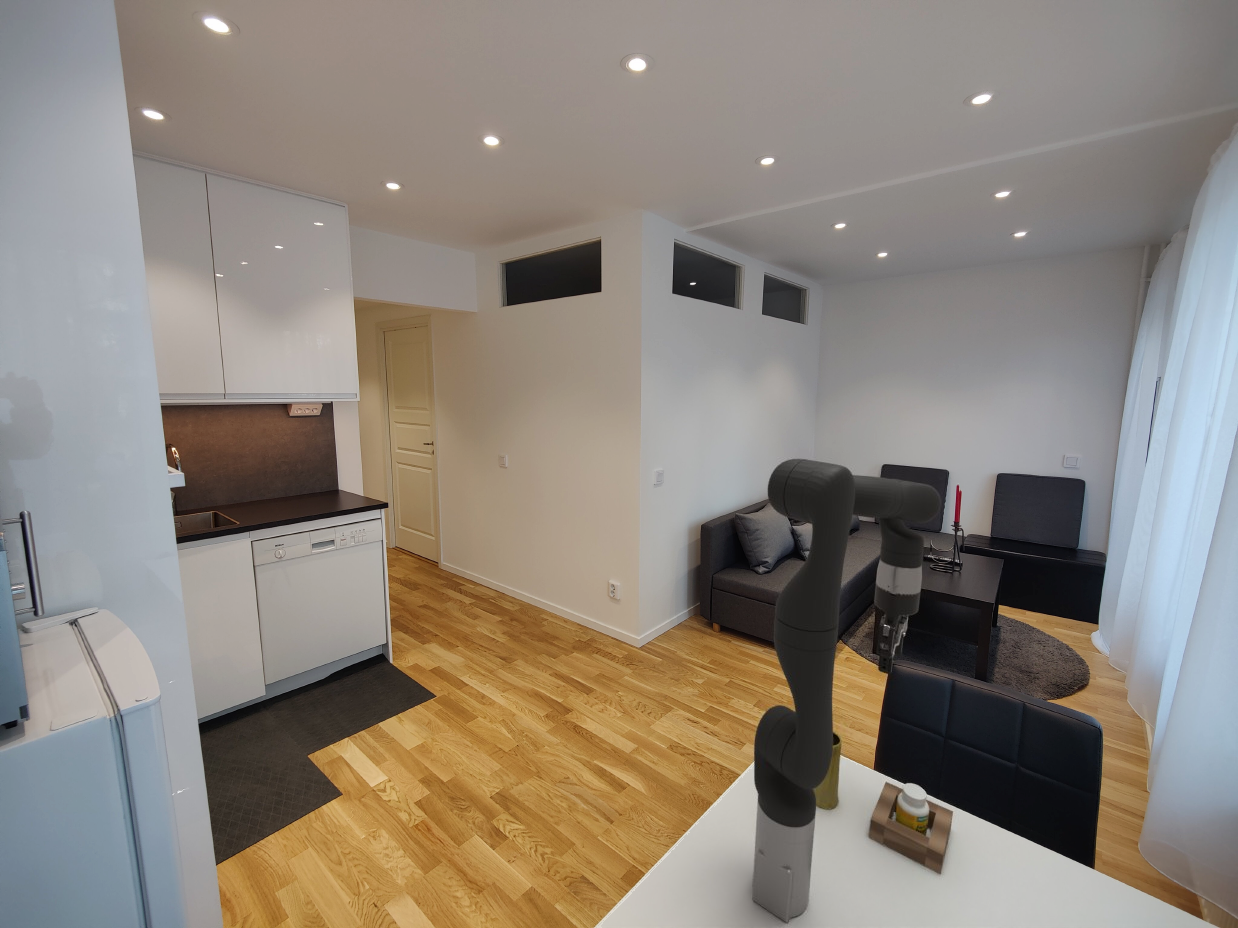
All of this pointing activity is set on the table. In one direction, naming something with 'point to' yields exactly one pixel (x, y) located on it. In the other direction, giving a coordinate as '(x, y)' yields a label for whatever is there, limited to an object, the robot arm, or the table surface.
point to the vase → (830, 779)
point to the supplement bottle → (913, 808)
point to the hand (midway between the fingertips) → (889, 662)
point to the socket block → (911, 830)
